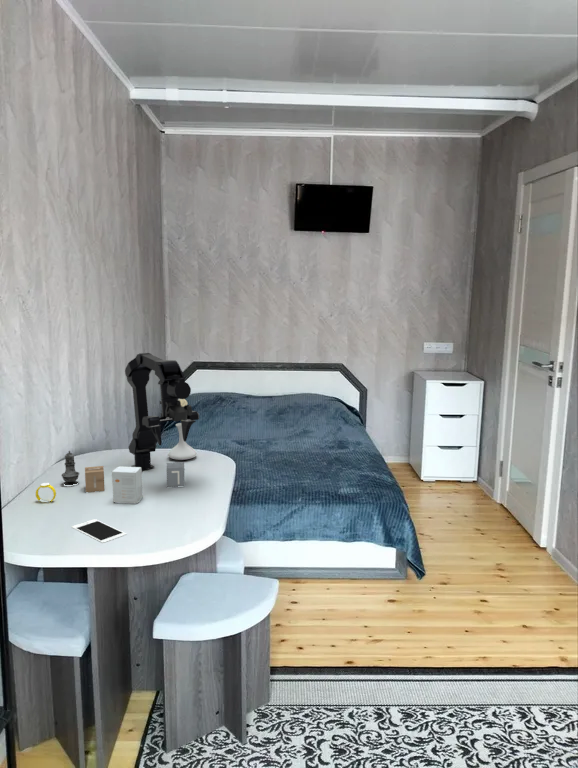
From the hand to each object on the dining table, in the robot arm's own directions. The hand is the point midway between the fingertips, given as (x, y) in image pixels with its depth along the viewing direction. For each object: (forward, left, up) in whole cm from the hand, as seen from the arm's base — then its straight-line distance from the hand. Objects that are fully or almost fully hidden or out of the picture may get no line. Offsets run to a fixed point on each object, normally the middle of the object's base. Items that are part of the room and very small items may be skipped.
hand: (172, 443), depth 206 cm
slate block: (-1, +2, -16) cm, 16 cm away
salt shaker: (-25, -25, -16) cm, 39 cm away
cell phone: (+18, -36, -16) cm, 43 cm away
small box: (+2, -18, -16) cm, 24 cm away
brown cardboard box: (-15, -21, -16) cm, 30 cm away
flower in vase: (-25, +21, -16) cm, 36 cm away
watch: (-14, -38, -16) cm, 44 cm away
